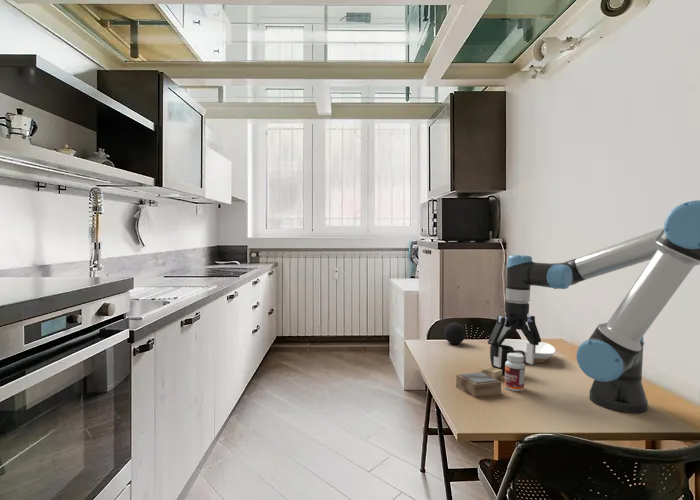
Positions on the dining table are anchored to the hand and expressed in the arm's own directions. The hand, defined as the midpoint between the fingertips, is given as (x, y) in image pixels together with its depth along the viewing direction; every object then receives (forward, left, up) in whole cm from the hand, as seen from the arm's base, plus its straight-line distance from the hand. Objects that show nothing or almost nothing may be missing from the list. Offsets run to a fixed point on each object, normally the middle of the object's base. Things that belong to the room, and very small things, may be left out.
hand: (513, 364), depth 141 cm
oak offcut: (+11, 0, -8) cm, 13 cm away
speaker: (+57, -16, -8) cm, 59 cm away
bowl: (+28, -32, -8) cm, 43 cm away
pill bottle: (0, 0, -8) cm, 8 cm away
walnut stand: (+2, +13, -8) cm, 15 cm away
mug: (+14, -9, -8) cm, 18 cm away
